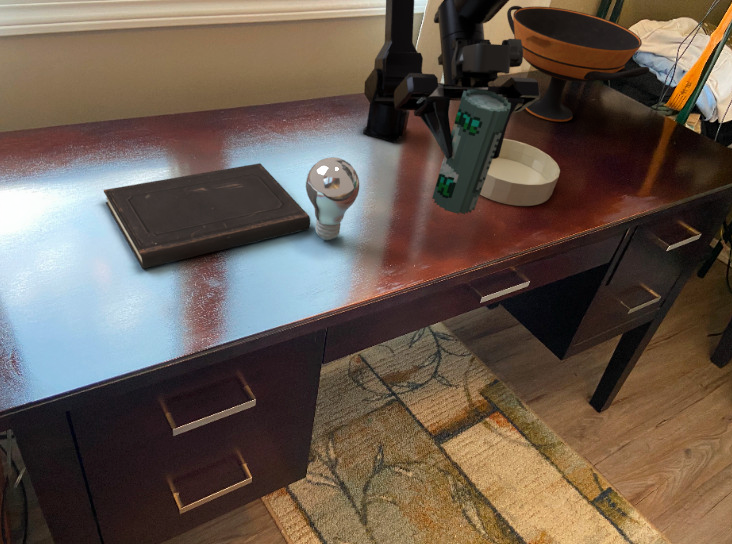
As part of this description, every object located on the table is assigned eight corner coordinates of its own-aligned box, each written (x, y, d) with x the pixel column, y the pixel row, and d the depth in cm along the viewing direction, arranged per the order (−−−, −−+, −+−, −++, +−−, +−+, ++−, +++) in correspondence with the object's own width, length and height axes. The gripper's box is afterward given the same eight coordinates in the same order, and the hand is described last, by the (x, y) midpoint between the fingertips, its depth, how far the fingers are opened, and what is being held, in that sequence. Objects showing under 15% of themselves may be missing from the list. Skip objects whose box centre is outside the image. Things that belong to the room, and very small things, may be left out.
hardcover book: (105, 204, 83) (103, 189, 82) (260, 176, 94) (260, 162, 93) (143, 271, 74) (141, 256, 72) (309, 231, 85) (311, 217, 84)
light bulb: (332, 260, 81) (342, 180, 73) (291, 239, 83) (296, 159, 75) (361, 237, 86) (373, 161, 78) (320, 218, 88) (328, 142, 80)
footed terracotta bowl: (452, 83, 137) (471, -1, 125) (533, 75, 149) (558, -3, 137) (566, 158, 115) (602, 64, 104) (650, 141, 127) (691, 56, 116)
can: (435, 184, 88) (465, 84, 78) (476, 195, 88) (511, 97, 78) (430, 206, 83) (460, 102, 74) (472, 218, 83) (509, 115, 73)
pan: (450, 187, 100) (455, 166, 98) (470, 149, 112) (476, 129, 109) (545, 216, 97) (554, 194, 95) (556, 174, 109) (564, 154, 107)
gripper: (418, 4, 70) (430, 138, 69) (559, 15, 75) (571, 139, 75) (388, 48, 81) (398, 164, 80) (513, 55, 86) (523, 164, 85)
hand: (472, 158), depth 80 cm, fingers closed on can, 6 cm apart
